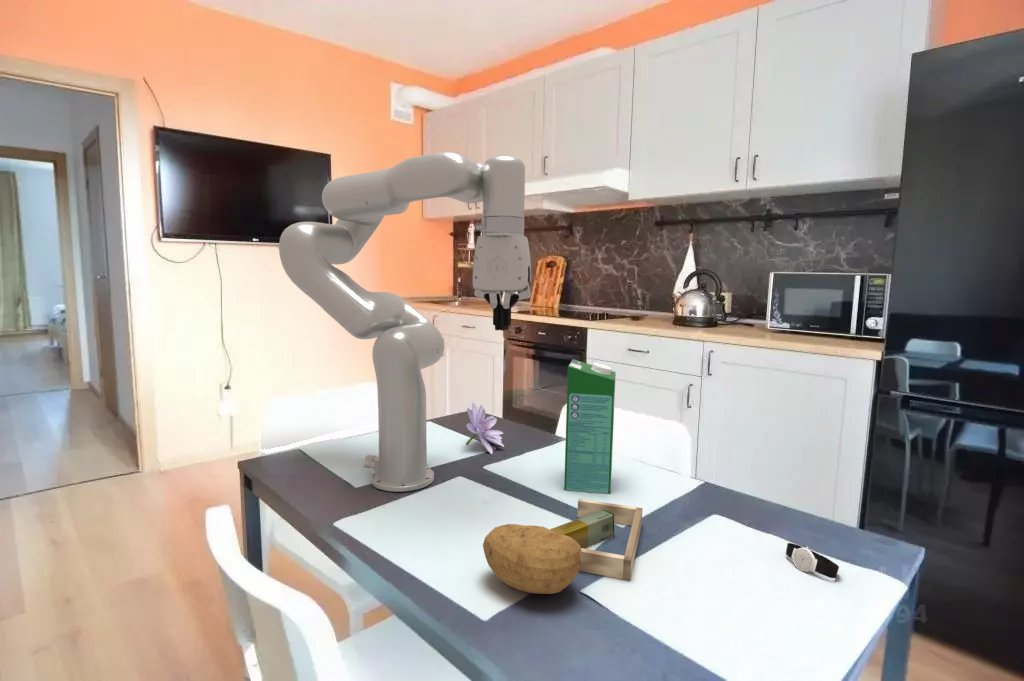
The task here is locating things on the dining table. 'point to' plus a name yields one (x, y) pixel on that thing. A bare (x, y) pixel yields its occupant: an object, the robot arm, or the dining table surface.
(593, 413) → the milk carton
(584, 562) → the u-shaped wooden frame
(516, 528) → the potato
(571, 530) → the medication box
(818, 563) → the watch
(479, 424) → the water lily
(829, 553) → the dining table surface
